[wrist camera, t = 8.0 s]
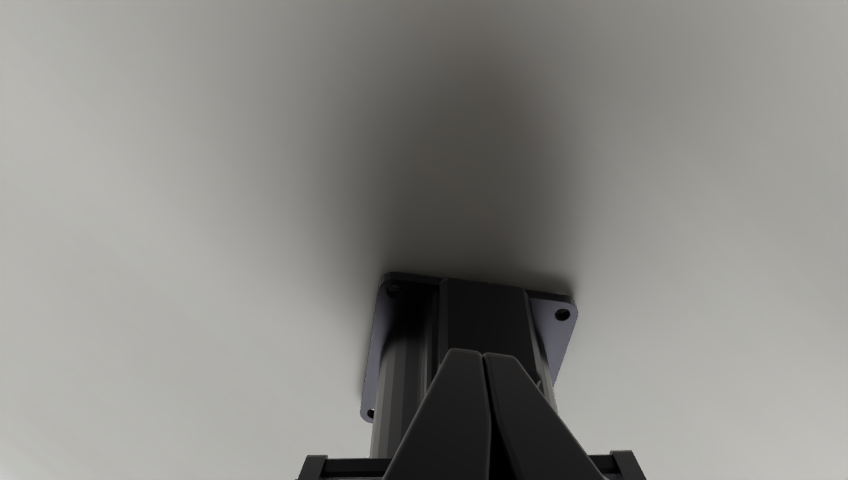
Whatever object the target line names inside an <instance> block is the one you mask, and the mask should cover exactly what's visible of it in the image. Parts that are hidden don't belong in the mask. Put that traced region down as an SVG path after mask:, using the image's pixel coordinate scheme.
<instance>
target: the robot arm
mask: <svg viewBox="0 0 848 480" xmlns="http://www.w3.org/2000/svg"><path fill="white" fill-rule="evenodd" d="M393 285H395V286H398V287H400V290H398V291H392V290H390V289H389V288H388V287H389V286H393ZM559 309H567V311H566V312H564V313H556V311H557V310H559ZM577 317H578V311H577V307H576V304H575V301H574V300H573V299H572V298H571V297H569V296H565V295H559V294H552V293H545V292H538V291H530V290H523V289H522V288H519V287H512V286H505V285H498V284H490V283H483V282H476V281H469V280H461V279H454V278H447V279H444V278H437V277H429V276H422V275H415V274H408V273H400V272H390V273H387V274H385V275H384V276H383V277H381V279H380V282H379V288H378V294H377V301H376V308H375V314H374V321H373V328H372V335H371V341H370V348H369V355H368V362H367V368H366V375H365V382H364V389H363V395H362V402H361V410H360V414H361V417H362V418H363V420H365V421H366V422H369V423H373V429H372V438H371V448H370V457H369V458H341V459H328V455H307V457H306V460H305V462H304V465H303V467H302V470H301V472H300V475H299V477H298V479H295V480H646V478H645V476H644V474H643V472H642V470H641V468H640V466H639V464H638V462H637V460H636V458H635V456H634V454H633V452H632V451H631V450H626V451H610V455H587V454H586V452H585V451H584V450H583V448H582V447H581V445H580V444H579V443H578V441H577V440H576V439H575V437H574V436H573V435H572V433H571V432H570V430H569V429H568V428H567V426H566V425H565V424H564V422H563V421H562V420H561V418H560V417H559V415H558V412H557V407H556V401H555V396H554V391H553V387H554V384H555V381H556V378H557V375H558V372H559V369H560V366H561V363H562V361H563V358H564V355H565V352H566V349H567V346H568V343H569V340H570V337H571V334H572V331H573V329H574V326H575V323H576V320H577ZM371 409H375V411H374V410H371Z"/></svg>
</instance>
